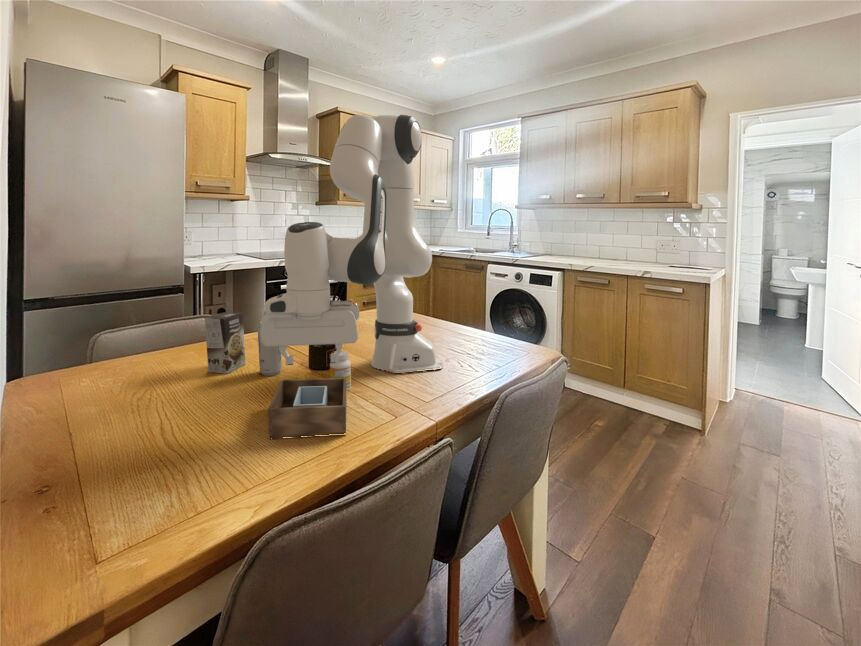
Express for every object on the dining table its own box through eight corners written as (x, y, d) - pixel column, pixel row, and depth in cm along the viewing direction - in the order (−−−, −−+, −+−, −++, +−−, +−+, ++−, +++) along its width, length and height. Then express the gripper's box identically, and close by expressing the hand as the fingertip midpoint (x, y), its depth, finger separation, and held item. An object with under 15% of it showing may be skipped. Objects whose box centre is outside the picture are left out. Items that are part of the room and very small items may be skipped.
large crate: (346, 403, 110) (346, 378, 109) (345, 435, 94) (345, 406, 92) (281, 405, 108) (280, 379, 106) (269, 439, 91) (267, 409, 90)
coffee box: (227, 374, 127) (223, 318, 124) (207, 372, 129) (203, 317, 125) (246, 364, 136) (243, 312, 133) (227, 362, 137) (224, 311, 134)
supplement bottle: (331, 384, 122) (331, 350, 120) (351, 384, 123) (351, 350, 121) (329, 391, 117) (328, 356, 115) (349, 391, 117) (349, 356, 115)
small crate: (327, 405, 106) (327, 385, 105) (325, 426, 96) (324, 404, 95) (299, 406, 105) (298, 386, 104) (293, 427, 95) (293, 405, 94)
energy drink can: (259, 370, 131) (257, 320, 128) (281, 368, 134) (279, 319, 130) (260, 377, 126) (257, 325, 123) (282, 375, 128) (280, 324, 125)
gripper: (358, 297, 100) (360, 357, 103) (261, 299, 96) (266, 360, 99) (359, 303, 94) (360, 366, 97) (256, 305, 90) (261, 370, 93)
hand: (312, 363), depth 98 cm, fingers open, 8 cm apart
